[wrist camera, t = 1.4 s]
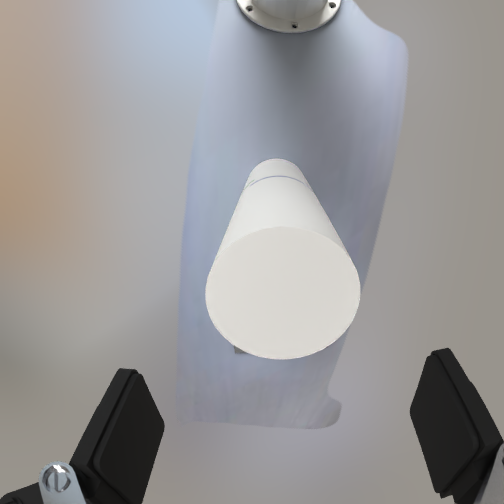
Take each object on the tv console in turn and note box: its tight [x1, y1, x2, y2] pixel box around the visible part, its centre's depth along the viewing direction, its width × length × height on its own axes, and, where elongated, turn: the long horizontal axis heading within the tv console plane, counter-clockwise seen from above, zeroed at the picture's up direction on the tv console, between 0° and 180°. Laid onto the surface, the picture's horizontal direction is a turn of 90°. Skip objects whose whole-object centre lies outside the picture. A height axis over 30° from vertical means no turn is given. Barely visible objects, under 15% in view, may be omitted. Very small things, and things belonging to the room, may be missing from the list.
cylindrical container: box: [205, 158, 360, 359], centre depth 26 cm, size 7×7×25 cm
